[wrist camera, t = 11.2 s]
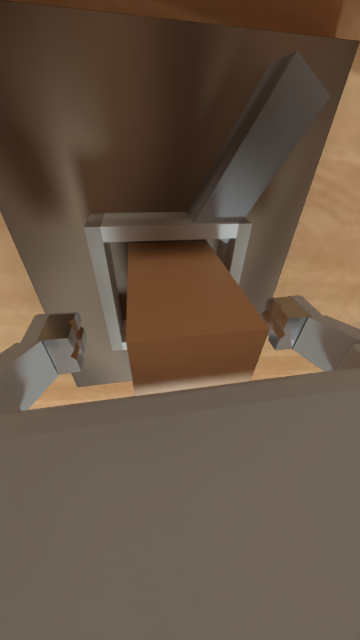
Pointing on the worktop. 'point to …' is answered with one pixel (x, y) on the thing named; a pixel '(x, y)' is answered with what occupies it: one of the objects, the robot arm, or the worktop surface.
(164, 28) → the grey holder stand
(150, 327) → the block
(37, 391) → the robot arm
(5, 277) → the worktop surface
